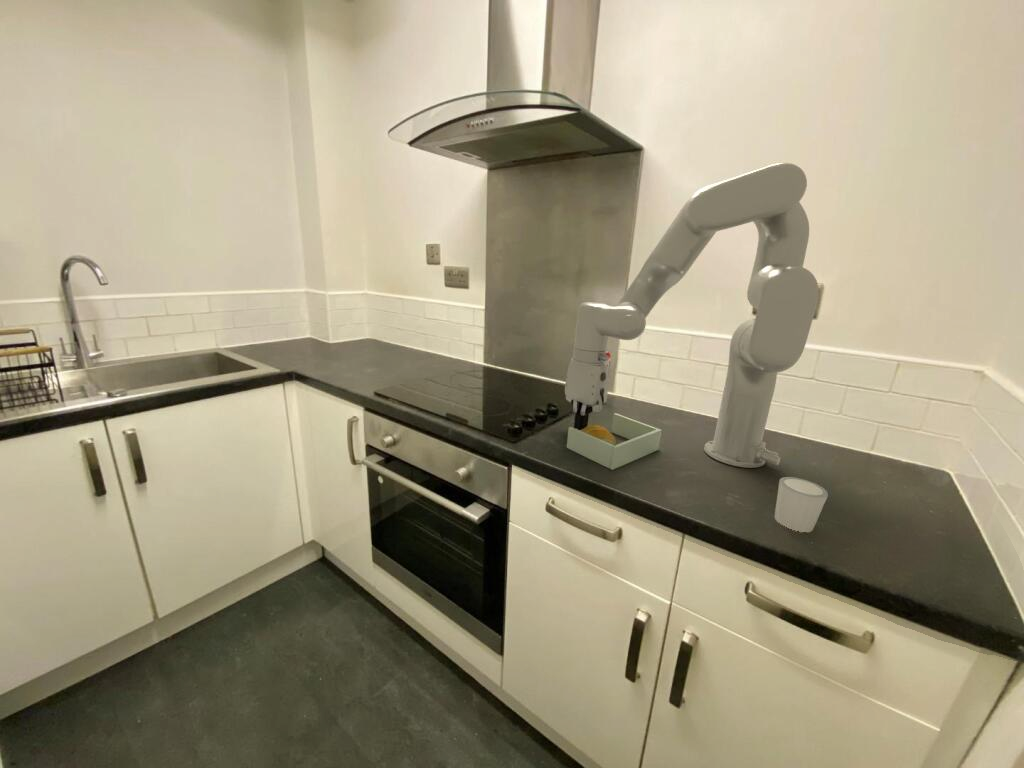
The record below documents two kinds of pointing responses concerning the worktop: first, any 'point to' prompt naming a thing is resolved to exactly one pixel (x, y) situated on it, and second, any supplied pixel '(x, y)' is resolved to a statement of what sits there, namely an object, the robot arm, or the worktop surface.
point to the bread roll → (600, 433)
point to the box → (610, 456)
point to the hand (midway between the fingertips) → (580, 427)
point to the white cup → (799, 503)
